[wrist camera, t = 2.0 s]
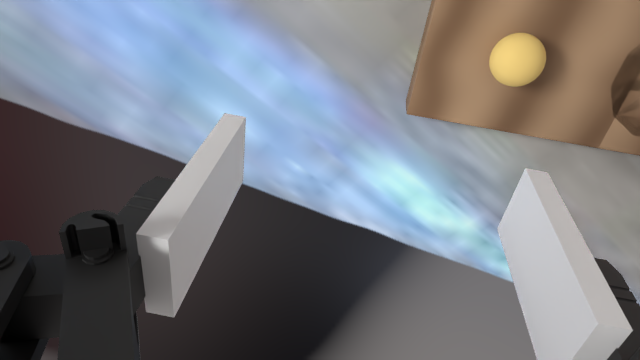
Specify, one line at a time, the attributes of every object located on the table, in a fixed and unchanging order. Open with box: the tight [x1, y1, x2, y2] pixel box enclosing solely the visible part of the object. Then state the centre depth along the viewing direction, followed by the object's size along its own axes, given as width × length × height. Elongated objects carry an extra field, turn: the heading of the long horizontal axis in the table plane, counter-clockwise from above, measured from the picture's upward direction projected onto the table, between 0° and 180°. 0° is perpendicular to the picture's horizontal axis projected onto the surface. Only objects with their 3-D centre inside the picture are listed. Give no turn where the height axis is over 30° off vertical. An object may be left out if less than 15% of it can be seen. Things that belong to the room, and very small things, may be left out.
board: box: [406, 0, 640, 155], centre depth 32 cm, size 26×12×2 cm, turn 82°
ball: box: [489, 33, 546, 87], centre depth 30 cm, size 4×4×4 cm
